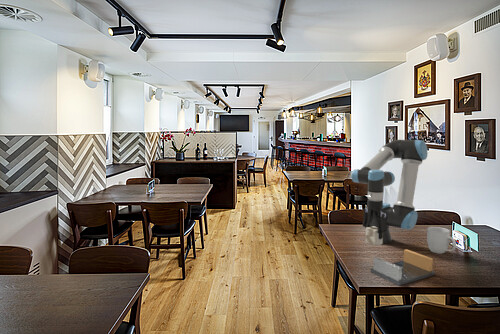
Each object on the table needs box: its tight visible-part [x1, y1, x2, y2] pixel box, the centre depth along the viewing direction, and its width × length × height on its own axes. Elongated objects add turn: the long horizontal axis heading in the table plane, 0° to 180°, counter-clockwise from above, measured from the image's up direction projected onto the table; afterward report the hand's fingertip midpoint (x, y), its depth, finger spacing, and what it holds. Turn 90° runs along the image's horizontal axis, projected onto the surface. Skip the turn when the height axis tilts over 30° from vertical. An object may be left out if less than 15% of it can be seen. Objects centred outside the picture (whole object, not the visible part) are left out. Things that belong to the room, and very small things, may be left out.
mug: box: [426, 226, 457, 255], centre depth 180 cm, size 15×11×13 cm
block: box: [364, 226, 384, 247], centre depth 169 cm, size 6×6×8 cm
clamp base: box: [370, 256, 436, 287], centre depth 153 cm, size 16×25×8 cm, turn 117°
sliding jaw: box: [403, 249, 434, 272], centre depth 158 cm, size 14×2×6 cm, turn 27°
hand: (373, 242), depth 169 cm, fingers closed on block, 6 cm apart
